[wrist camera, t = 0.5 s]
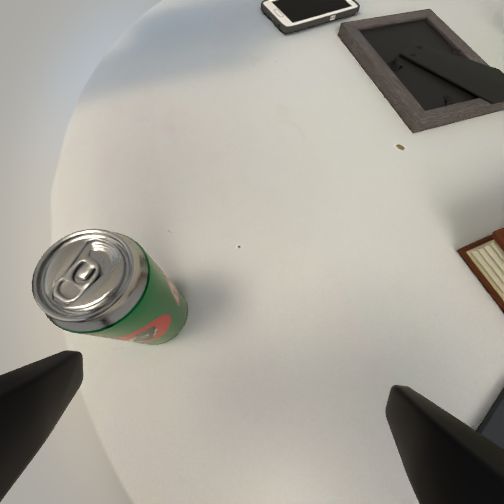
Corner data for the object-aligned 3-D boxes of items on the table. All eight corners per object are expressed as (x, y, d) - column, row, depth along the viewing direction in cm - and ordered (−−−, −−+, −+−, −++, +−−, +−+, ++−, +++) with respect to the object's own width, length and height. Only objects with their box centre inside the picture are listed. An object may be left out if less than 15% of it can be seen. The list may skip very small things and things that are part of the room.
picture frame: (510, 108, 35) (423, 20, 43) (525, 94, 33) (431, 5, 41) (413, 133, 33) (337, 35, 40) (423, 119, 31) (342, 19, 38)
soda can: (200, 304, 23) (165, 253, 12) (165, 357, 21) (86, 355, 10) (154, 276, 24) (81, 204, 13) (116, 325, 22) (-7, 291, 11)
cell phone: (258, 9, 41) (259, 1, 40) (332, -10, 44) (334, -18, 44) (284, 36, 39) (285, 28, 38) (360, 13, 42) (362, 6, 41)
